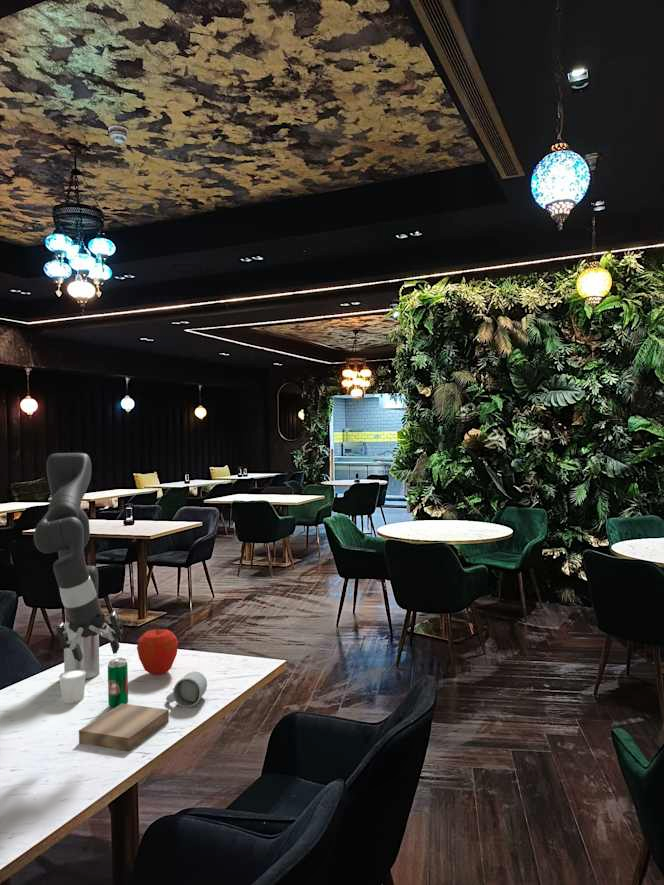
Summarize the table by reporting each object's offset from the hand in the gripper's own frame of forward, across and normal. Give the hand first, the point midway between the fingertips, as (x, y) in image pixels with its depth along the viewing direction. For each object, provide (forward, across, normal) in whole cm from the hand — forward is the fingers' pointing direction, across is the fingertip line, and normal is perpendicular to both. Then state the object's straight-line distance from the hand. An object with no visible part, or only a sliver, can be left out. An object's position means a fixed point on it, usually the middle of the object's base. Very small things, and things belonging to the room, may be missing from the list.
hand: (98, 655), depth 154 cm
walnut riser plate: (+19, -3, +6) cm, 20 cm away
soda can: (+23, +3, -11) cm, 25 cm away
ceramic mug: (+26, -15, -10) cm, 31 cm away
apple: (+30, -3, -32) cm, 44 cm away
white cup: (+22, +17, -17) cm, 33 cm away
